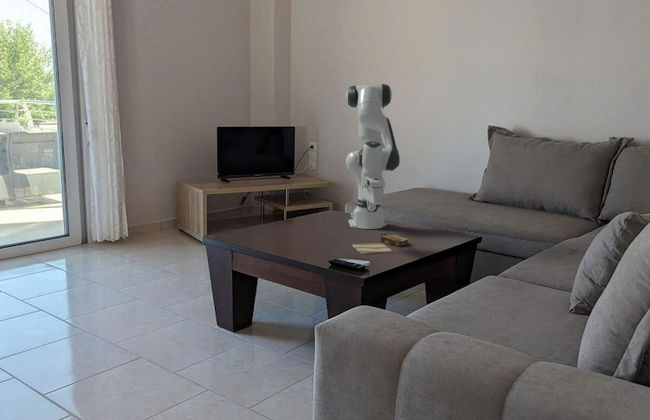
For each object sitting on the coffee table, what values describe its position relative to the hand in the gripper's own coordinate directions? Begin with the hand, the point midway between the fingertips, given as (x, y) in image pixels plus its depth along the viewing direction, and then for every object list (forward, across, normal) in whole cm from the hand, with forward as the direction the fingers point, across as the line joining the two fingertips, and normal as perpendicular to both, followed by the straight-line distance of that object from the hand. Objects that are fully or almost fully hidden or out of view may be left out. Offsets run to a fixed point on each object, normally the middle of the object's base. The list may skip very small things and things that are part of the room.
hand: (370, 210), depth 259 cm
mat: (+16, +4, 0) cm, 17 cm away
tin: (+15, -3, +9) cm, 18 cm away
